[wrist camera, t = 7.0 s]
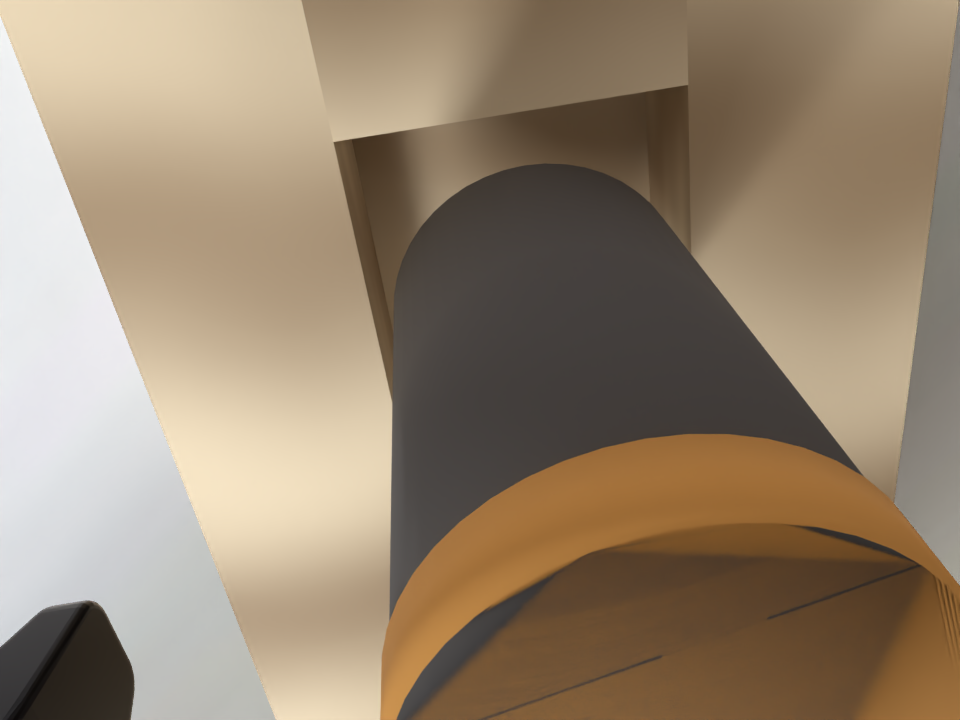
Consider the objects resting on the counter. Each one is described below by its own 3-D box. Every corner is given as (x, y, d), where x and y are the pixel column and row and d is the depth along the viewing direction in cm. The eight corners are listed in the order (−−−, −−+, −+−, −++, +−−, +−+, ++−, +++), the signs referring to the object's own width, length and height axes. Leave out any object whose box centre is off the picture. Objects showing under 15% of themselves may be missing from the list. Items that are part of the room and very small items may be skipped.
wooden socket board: (794, 789, 24) (842, 898, 22) (378, 857, 24) (376, 975, 22) (867, -213, 13) (990, -237, 10) (56, -83, 13) (-35, -73, 10)
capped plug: (691, 408, 13) (950, 879, 7) (418, 452, 13) (435, 964, 7) (685, 135, 11) (1050, 462, 5) (362, 187, 11) (311, 581, 5)
